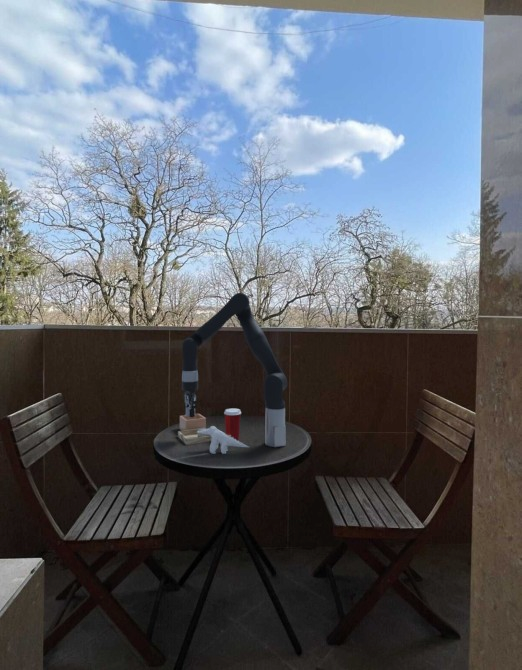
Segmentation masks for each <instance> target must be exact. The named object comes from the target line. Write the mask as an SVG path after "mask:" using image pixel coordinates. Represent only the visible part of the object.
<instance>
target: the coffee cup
mask: <svg viewBox="0 0 522 670" xmlns="http://www.w3.org/2000/svg"><path fill="white" fill-rule="evenodd" d="M223 414H224V421H225V422H224V423H225V426H224V427H225V434H226V435H228V436H230V435H231V437H233V438H234V439H236V440H237V441H240V429H241V428H240V427H241V416H242V415H241V414H242V411H241V409H239V408H226V409H225V410H224V412H223Z"/></svg>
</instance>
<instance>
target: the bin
mask: <svg viewBox="0 0 522 670" xmlns="http://www.w3.org/2000/svg"><path fill="white" fill-rule="evenodd" d="M199 428H206V429H207V417H205V416H203V415H202V414H200V413H195V416H194V417H186V414H184V415H179V431H184V430H192V429H199Z"/></svg>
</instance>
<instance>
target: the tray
mask: <svg viewBox="0 0 522 670" xmlns="http://www.w3.org/2000/svg"><path fill="white" fill-rule="evenodd" d="M197 431H198V429H192V430H184V431H182V430H178V431H177V438H178V439H180V440H181V442H183V443H184V444H185V445H186V446H191V445H197V444H202V443H203V444H204V443H208V442H210V443H211V439H212V437H211V435H207V436H204V437H198V433H197Z"/></svg>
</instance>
